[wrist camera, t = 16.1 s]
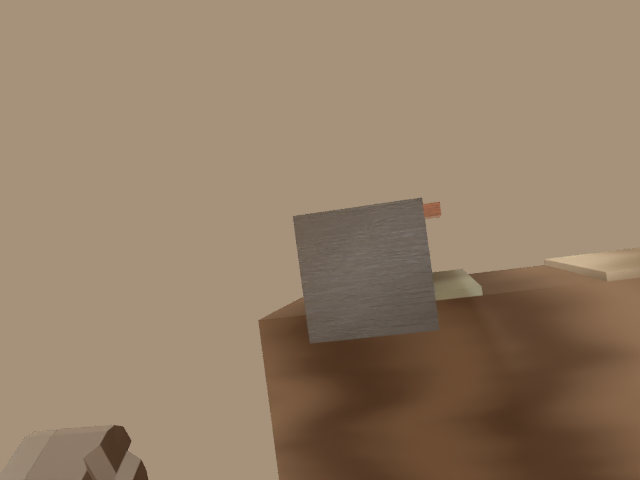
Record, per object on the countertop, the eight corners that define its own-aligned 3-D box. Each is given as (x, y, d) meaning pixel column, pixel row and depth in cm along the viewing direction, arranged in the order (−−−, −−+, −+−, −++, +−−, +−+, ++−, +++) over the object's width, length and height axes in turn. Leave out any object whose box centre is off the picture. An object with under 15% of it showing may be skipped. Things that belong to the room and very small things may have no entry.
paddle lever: (274, 347, 13) (254, 194, 13) (365, 278, 32) (357, 218, 33) (478, 326, 12) (456, 163, 12) (445, 268, 32) (437, 206, 32)
